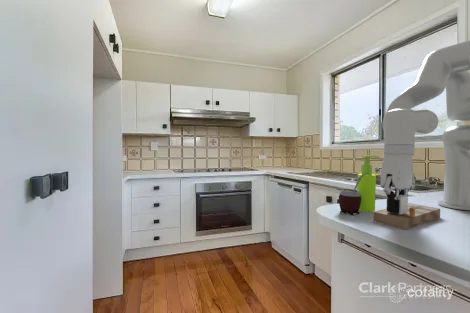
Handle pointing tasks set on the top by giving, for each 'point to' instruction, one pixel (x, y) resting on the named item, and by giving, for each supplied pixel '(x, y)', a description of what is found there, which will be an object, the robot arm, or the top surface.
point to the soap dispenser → (367, 186)
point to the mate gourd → (350, 200)
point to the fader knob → (402, 204)
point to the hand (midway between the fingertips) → (396, 210)
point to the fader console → (407, 216)
